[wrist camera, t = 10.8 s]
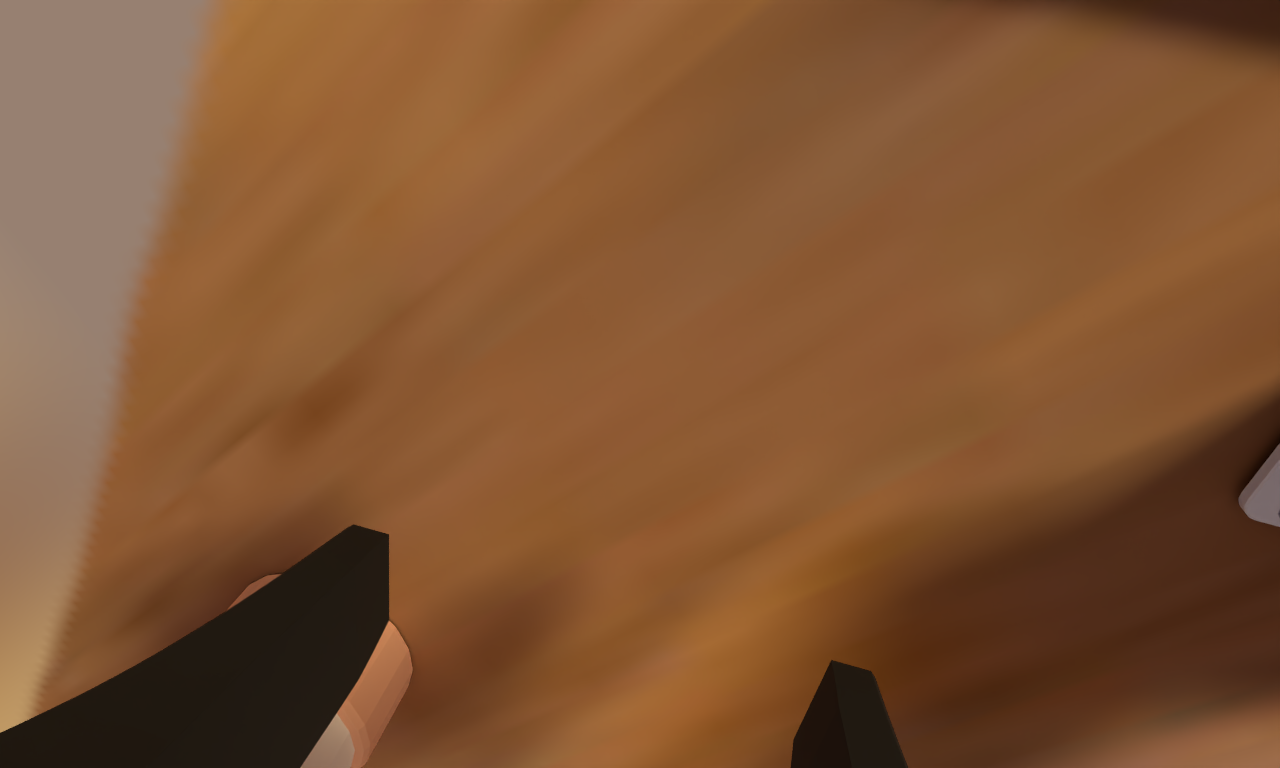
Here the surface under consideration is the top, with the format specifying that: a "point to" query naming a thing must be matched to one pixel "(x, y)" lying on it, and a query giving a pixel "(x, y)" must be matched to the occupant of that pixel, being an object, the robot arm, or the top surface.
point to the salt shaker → (360, 701)
